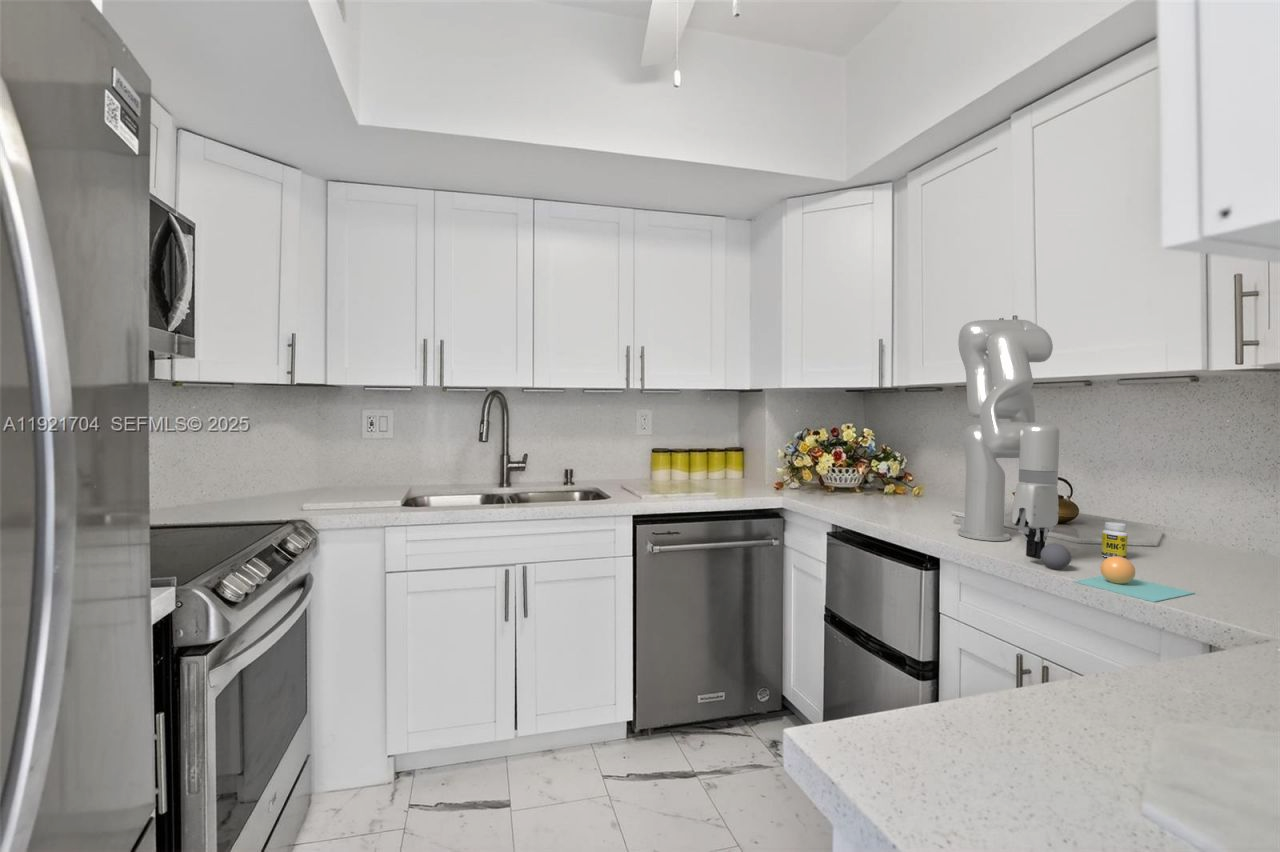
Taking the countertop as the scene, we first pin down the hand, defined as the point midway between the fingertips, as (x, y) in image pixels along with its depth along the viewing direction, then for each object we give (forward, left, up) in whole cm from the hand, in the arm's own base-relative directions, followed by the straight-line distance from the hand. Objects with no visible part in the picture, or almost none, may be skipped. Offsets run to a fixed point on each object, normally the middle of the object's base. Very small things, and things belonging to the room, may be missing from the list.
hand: (1035, 557), depth 138 cm
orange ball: (+17, 0, +1) cm, 17 cm away
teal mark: (+20, 0, -2) cm, 20 cm away
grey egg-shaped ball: (+4, 0, +1) cm, 5 cm away
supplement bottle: (+4, +24, -2) cm, 24 cm away
